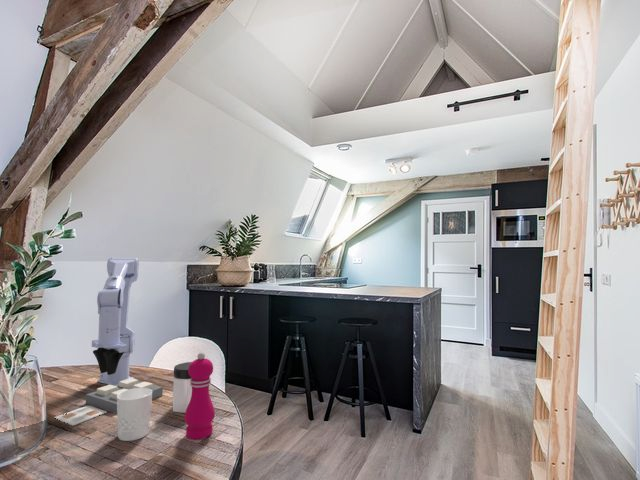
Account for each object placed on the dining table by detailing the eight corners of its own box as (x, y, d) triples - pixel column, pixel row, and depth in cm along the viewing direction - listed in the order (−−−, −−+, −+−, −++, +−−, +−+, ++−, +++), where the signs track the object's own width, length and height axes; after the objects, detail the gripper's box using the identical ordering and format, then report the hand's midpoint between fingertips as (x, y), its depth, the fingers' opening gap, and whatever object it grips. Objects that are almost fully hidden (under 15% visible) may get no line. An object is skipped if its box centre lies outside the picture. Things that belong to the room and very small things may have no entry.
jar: (174, 402, 109) (175, 362, 109) (202, 399, 111) (203, 360, 112) (171, 415, 100) (172, 371, 101) (201, 411, 102) (202, 369, 103)
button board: (85, 403, 108) (86, 394, 108) (131, 387, 121) (132, 379, 121) (117, 413, 101) (117, 404, 101) (162, 395, 114) (162, 387, 114)
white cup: (141, 443, 85) (142, 400, 86) (108, 442, 85) (109, 399, 86) (156, 427, 93) (158, 388, 93) (126, 426, 93) (128, 387, 94)
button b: (118, 386, 115) (119, 381, 115) (130, 382, 118) (130, 377, 119) (126, 388, 113) (126, 383, 113) (138, 385, 117) (138, 379, 117)
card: (53, 418, 97) (54, 417, 98) (88, 406, 105) (88, 405, 105) (72, 425, 93) (72, 424, 93) (106, 412, 101) (107, 411, 101)
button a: (96, 394, 109) (96, 388, 109) (109, 389, 112) (109, 384, 112) (104, 396, 107) (104, 391, 107) (117, 392, 110) (117, 386, 110)
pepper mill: (205, 442, 86) (207, 357, 86) (177, 439, 87) (180, 355, 88) (219, 428, 93) (221, 349, 94) (194, 425, 94) (195, 348, 95)
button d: (132, 390, 112) (133, 385, 112) (144, 386, 115) (144, 381, 115) (141, 392, 110) (141, 387, 110) (152, 388, 113) (153, 383, 114)
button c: (111, 398, 106) (111, 392, 106) (123, 393, 109) (124, 388, 109) (119, 400, 104) (119, 395, 104) (132, 396, 107) (132, 390, 107)
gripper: (82, 328, 110) (80, 373, 110) (111, 333, 104) (109, 380, 103) (104, 324, 117) (103, 366, 116) (133, 328, 110) (132, 373, 109)
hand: (108, 373), depth 110 cm, fingers open, 3 cm apart
